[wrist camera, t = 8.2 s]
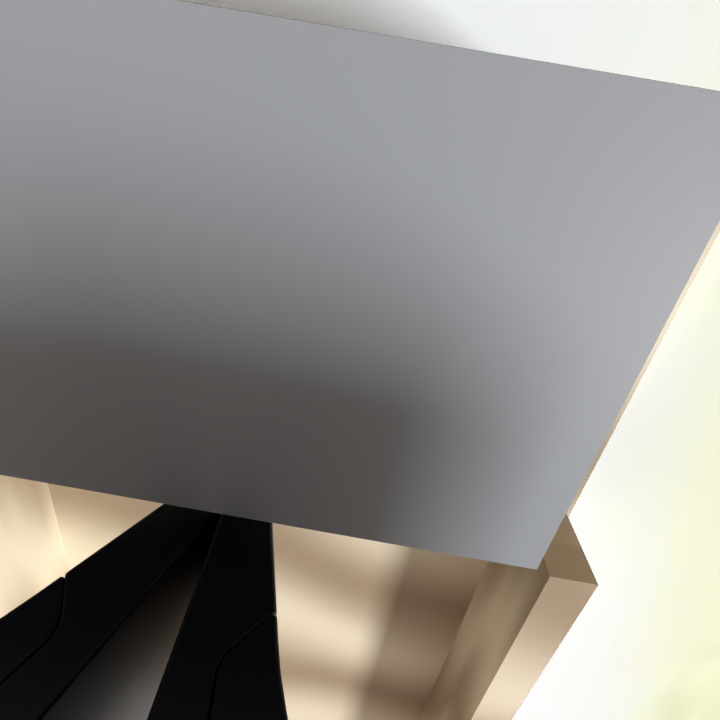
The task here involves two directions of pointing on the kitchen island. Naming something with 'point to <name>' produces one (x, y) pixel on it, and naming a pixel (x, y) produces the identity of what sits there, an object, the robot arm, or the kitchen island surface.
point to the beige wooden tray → (354, 603)
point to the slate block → (331, 267)
